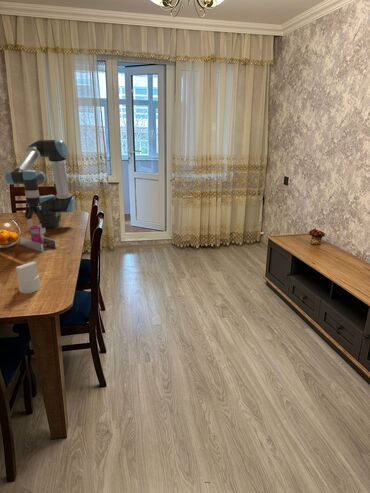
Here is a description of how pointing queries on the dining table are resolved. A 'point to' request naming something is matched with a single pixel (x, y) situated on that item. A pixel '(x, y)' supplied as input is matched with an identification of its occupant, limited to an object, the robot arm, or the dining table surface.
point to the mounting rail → (39, 244)
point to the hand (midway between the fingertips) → (37, 231)
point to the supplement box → (37, 234)
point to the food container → (58, 215)
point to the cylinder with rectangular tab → (28, 277)
